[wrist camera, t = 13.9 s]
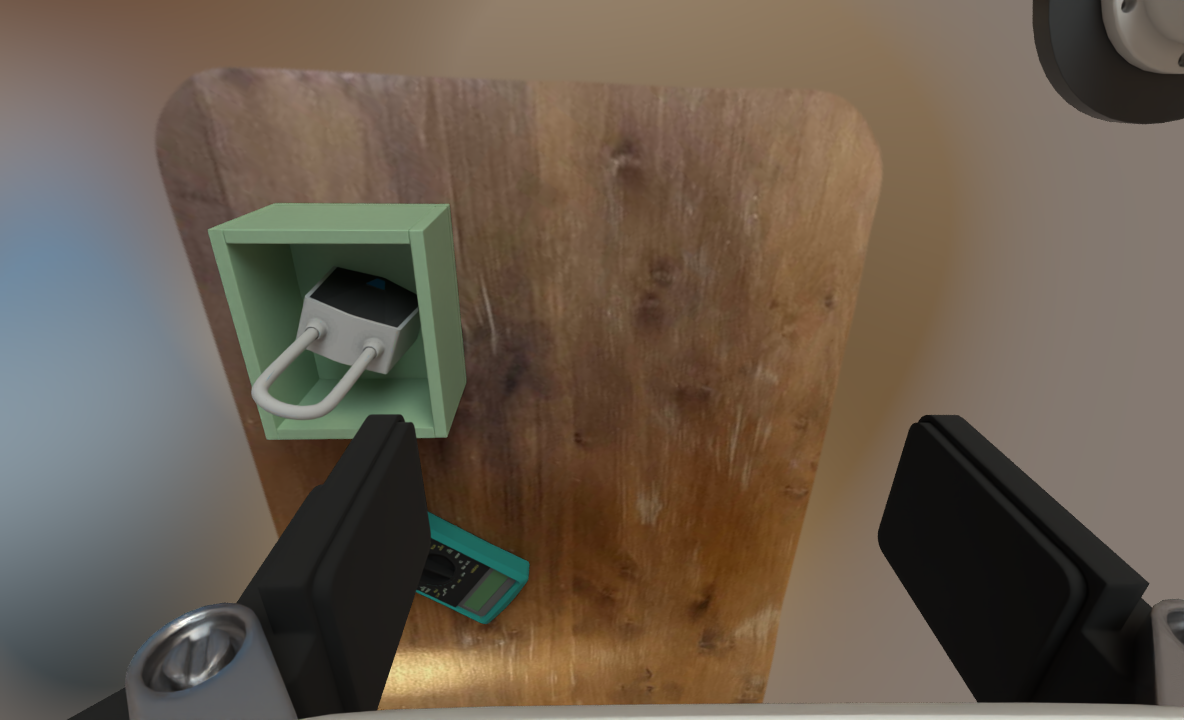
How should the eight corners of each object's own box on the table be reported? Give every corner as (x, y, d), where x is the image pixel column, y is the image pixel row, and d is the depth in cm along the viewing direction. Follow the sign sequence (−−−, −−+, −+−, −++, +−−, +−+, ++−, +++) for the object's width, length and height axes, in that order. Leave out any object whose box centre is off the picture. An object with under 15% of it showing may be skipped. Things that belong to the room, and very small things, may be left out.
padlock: (430, 294, 40) (360, 400, 27) (414, 344, 42) (340, 468, 28) (335, 259, 39) (209, 352, 25) (322, 312, 40) (198, 426, 27)
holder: (449, 203, 38) (422, 230, 31) (466, 382, 44) (447, 438, 37) (274, 202, 38) (206, 229, 31) (315, 383, 44) (266, 439, 37)
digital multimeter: (388, 484, 48) (377, 508, 45) (534, 559, 52) (531, 584, 50) (349, 538, 50) (336, 564, 48) (491, 606, 55) (487, 632, 52)
